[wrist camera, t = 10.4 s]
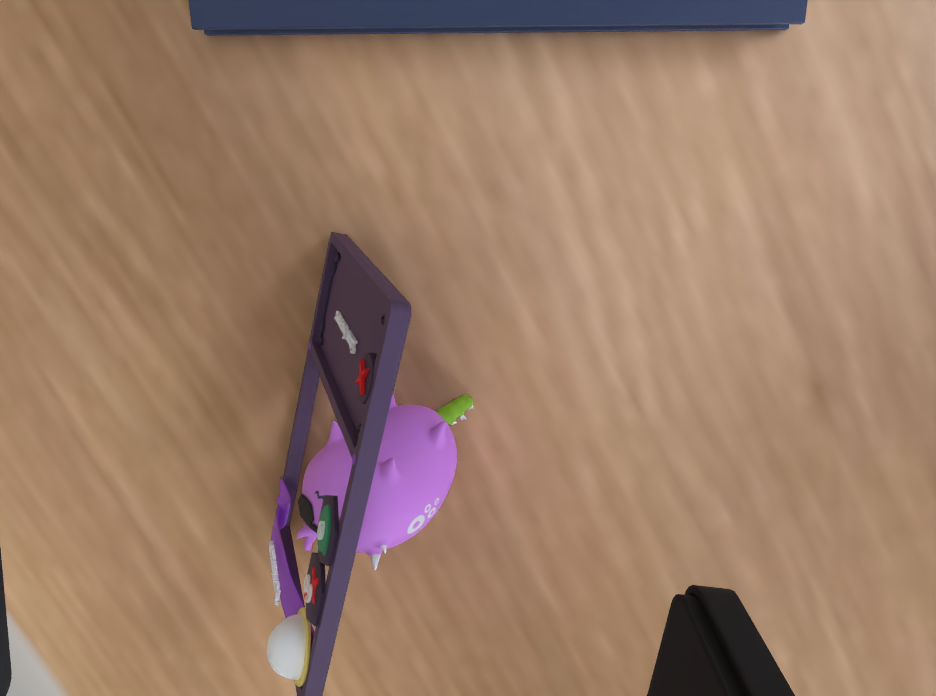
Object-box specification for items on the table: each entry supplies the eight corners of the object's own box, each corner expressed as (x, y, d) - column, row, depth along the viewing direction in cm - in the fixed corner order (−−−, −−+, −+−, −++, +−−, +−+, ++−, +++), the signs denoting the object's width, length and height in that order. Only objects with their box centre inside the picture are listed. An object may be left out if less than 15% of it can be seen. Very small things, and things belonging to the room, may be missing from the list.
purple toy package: (350, 296, 12) (262, 719, 14) (607, 337, 14) (493, 699, 16) (302, 224, 17) (246, 529, 20) (486, 260, 19) (416, 533, 22)
